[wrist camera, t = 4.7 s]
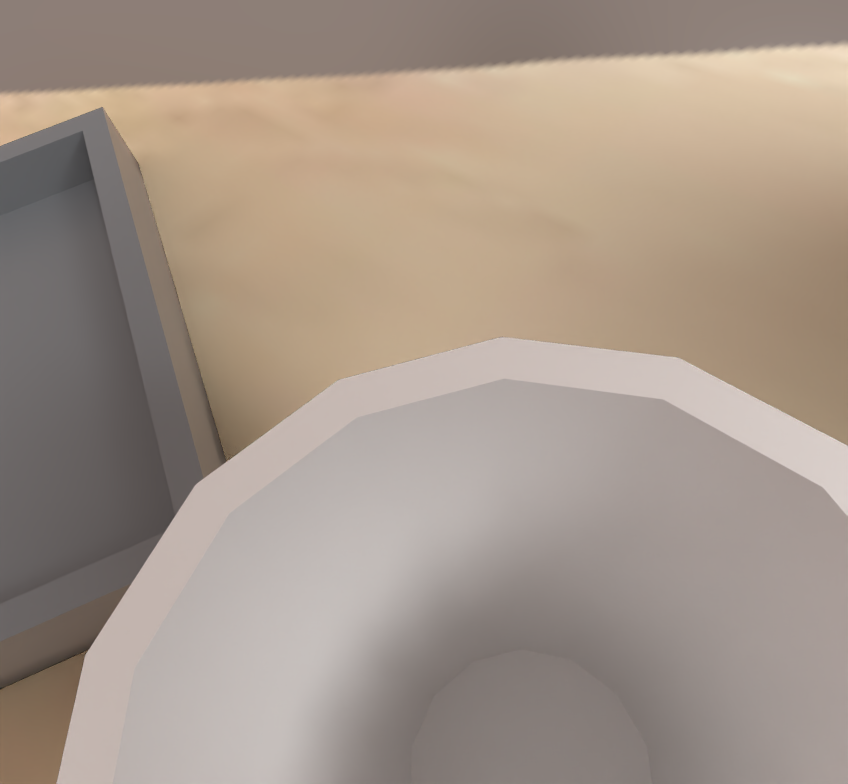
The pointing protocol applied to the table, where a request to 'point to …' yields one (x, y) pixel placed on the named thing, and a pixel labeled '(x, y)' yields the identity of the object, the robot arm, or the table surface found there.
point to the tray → (86, 390)
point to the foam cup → (491, 589)
